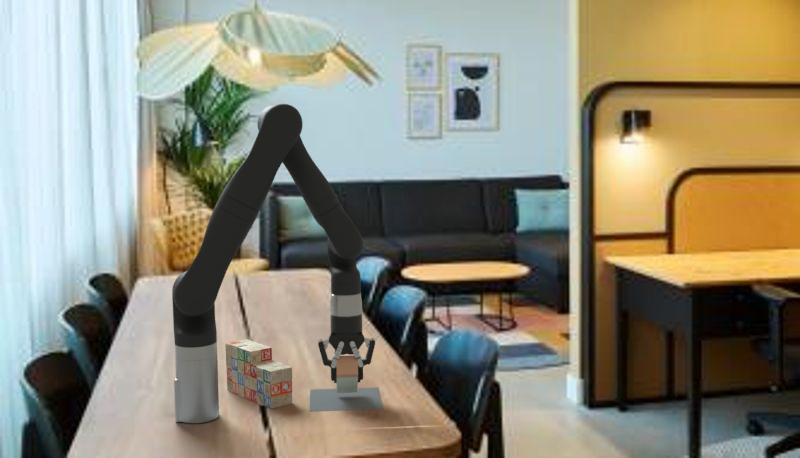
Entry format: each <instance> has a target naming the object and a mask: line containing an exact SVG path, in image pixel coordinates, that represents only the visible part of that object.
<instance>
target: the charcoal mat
mask: <svg viewBox="0 0 800 458" xmlns="http://www.w3.org/2000/svg"><path fill="white" fill-rule="evenodd" d="M357 410H359V411H360V410H362V411H363V410H365V411H366V410H384V406H383V401H382V397H381V393H380V388H379V387H378V386H374V387H373V386H372V387H357V392H355V393H336V388H320V389H319V388H318V389H310V391H309V412H311V413H312V412H333V411H335V412H336V411H338V412H339V411H357Z"/></svg>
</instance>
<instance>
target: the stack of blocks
mask: <svg viewBox="0 0 800 458" xmlns="http://www.w3.org/2000/svg"><path fill="white" fill-rule="evenodd" d="M224 347H225V365H226V376H227V377H226V387H227V391H229V392H231V393H233V394H235V395H237V396H240V397H241V398H244V399H246V400H248V401H251V402H254V404H257V405H260V406H262V407H263V406H264V407H267V408H269V409H273V408H278V407H282V406H287V405H290V404H293V366H290V365H287V364H284V363H282V362H280V361H277V360H273V354H272V353H273V352H272V351H273V350H272V349H273V348H272V346H268V345H265V344H261V343H259V342H255V341H253V340H250V339H246V338H245V339H241V340H237V341H231V342H227V343H226V342H225V346H224Z"/></svg>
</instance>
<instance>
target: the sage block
mask: <svg viewBox="0 0 800 458" xmlns="http://www.w3.org/2000/svg"><path fill="white" fill-rule="evenodd" d="M336 364H337V365H336V368H337V383H335V384H336V388H335V389H336V393H355V392H357V388H359V387H358V384H359V382H358V360H356V359H355V356H354V355H340V357H339V360H336Z"/></svg>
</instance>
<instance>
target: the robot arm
mask: <svg viewBox="0 0 800 458" xmlns="http://www.w3.org/2000/svg"><path fill="white" fill-rule="evenodd" d="M302 131H303V117H302V116H301V113H300V112H299V110H298V109H297V108H296V107H295V106H292V105H291V104H287V103H275V104H271V105H268V106H266V107H265V108H264V109H263V110H261V112H260V113H259V115H258V118H257V132H258V133H257V135H256V138H255V140H254V142H253V145H252V147H251V148H250V150H249V151H250V152H249V153H248V154H247V156H246V158H245V159H244V161H243V162H242V163H241V165H240V166H239V167H238V169H237V170H236V171H235V172H234V174H232V176H231V178H229V179H230V180H229V181H228V182H227V183H226V185H225V187H224V188H223V190H222V191H221V194H220V196H219V198H218V200H217V201H216V204H215V205H214V208H213V210H212V213H211V215H210V217H209V220H208V223H207V227H206V229H205V232H204V236H203V239H202V243H201V245H200V248H199V251H198V252H197V254H196V256H195V258H194V259H193V261H192V262H191V265H189V268H187V270H186V271H184V272H182V273H181V274H179V275H178V276H177V278H176V279H175V280H174V282H173V284H172V291H171V292H172V293H171V294H172V295H171V296H172V297H171V299H172V317H173V321H172V322H173V336H174V337H173V338H174V355H175V358H174V359H175V363H174V364H175V378H174V381H173V386H174V412H175V423H176V422H177V423H178V422H180V423H186V424H201V423H208V422H211V421H214V420H216V419H218V418H219V417H220V403H219V402H220V399H219V397H220V396H219V395H220V394H219V393H220V390H219V365H218V362H219V361H218V342H217V341H218V337H217V336H218V335H217V334H218V332H217V322H216V307H215V306H216V305H215V302H216V300H217V297H218V294H219V291H220V289H221V286H222V283H223V282H224V279H225V276H226V274H227V271H228V269H229V266H230V265H231V263H232V262H233V259H234V258H235V256H236V254H237V253H238V251H239V249H240V248H241V247H242V245H243V243H244V241H245V239H246V237H247V236H248V234H249V233H250V231H251V229H252V227H253V225H254V223H255V221H256V219H257V218H258V215H259V214H260V212H261V209H262V207H263V205H264V203H265V201H266V198H267V196H268V194H269V192H270V189H271V187H272V185H273V183H274V180H275V178H276V175H277V173H278V171H279V169H280V167H281V166H282V164H283V166H284V167H285V169H286V170H287V171H288V173H289V175H290V176H291V178H292V181H293V182H294V184H295V186H296V187H297V189H298V191H299V193H300V196H301V197H302V200H303V201H304V203H305V204H306V206H307V208H308V210H309V211H310V214H311V215H312V216H313V219H314V220H315V221H316V223H317V224H318V226H320V227H321V228H322V229H323V230H324V232H325V233H326V236H327V242H326V243H327V244H326V245H327V247H326V248H327V256H328V257H327V258H328V263H329V268H330V275H331V277H330V305H329V313H330V314H329V315H330V319H329V320H330V334H329V337H328V338H326V339H319V340H318V344H317V345H318V349H319V353H320V356H321V360H322V363H323V365H324V367H325V366H327V367H330V380H331V382H333V383H334V384H336V383H337V368H336V365H337V364H336V360H339V357H340V356H346V355H349V356H355V359H356V360H358V383H361V381H363V379H364V367H365V366H367V365H370V364H371V363H372V359H373V354H374V350H375V347H376V346H375V345H376V339H375V338H374V337H371V338H369V337H365V336H364V333H363V301H362V288H361V287H362V286H361V285H362V284H361V282H362V281H361V280H362V279H361V272H360V270H359V269H358V266H357V258H358V257H359V256H360V255H361V254H362V252H363V249H364V240H363V236H362V235H361V233H360V231H359V229H358V228H357V226H356V225H355V223H354V222H353V221H352V219H351V218H350V216H349V215H348V214H347V213H346V210H344V208H343V206H342V204H341V202H340V199H339V197H338V196H337V195H336V193H335V191H334V189H333V187H332V186H331V184H330V182H329V181H328V179H327V178H326V177H325V175H324V174H323V172H322V170H320V168H319V167H318V165H316V163H315V162H314V160H313V159H312V156H311V155H310V153H309V152H308V150H307V148H306V147H305V145H304V142H303V139H302V137H301V133H302ZM364 343H365V347H366V348H367V350H366V354H365V357H364V358H362V356H361V353H360V348H361V347H362V345H363V344H364ZM328 344H329V345H331V347H332V348H333V349H334V352H333V355H332V359H329V357H328V354H327V349H328Z"/></svg>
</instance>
